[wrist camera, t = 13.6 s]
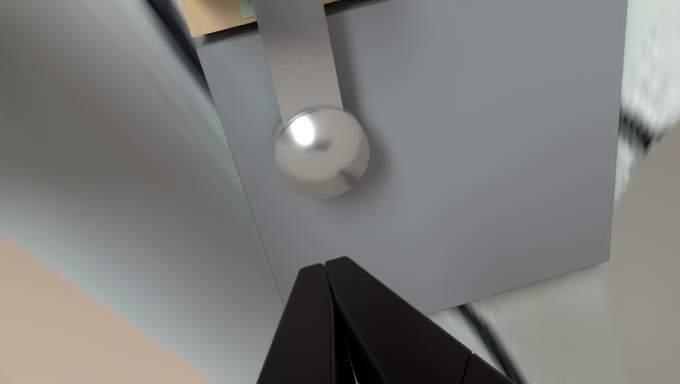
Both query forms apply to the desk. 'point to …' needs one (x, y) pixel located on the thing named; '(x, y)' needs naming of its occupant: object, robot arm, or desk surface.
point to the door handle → (309, 102)
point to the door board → (439, 140)
